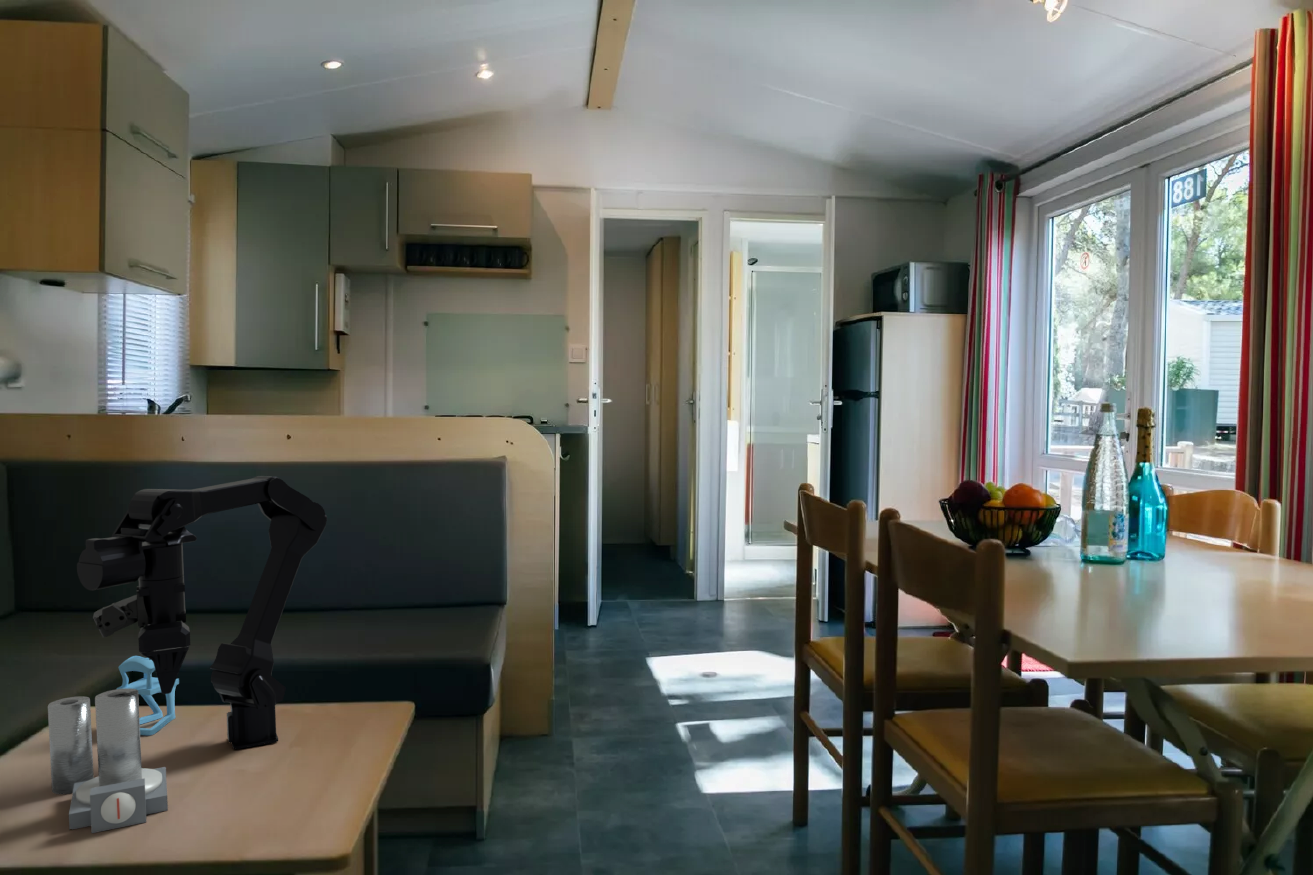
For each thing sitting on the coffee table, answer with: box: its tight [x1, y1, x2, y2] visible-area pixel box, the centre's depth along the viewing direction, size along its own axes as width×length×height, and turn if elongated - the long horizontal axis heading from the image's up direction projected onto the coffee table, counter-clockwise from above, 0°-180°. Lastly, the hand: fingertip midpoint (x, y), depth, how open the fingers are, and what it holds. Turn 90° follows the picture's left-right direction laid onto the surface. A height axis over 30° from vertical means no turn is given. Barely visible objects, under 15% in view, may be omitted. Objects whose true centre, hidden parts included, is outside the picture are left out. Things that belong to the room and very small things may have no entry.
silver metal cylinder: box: [94, 688, 143, 787], centre depth 126 cm, size 5×5×12 cm
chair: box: [116, 655, 180, 737], centre depth 156 cm, size 8×8×12 cm
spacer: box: [47, 696, 95, 795], centre depth 132 cm, size 5×5×12 cm
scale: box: [68, 766, 169, 834], centre depth 125 cm, size 11×14×5 cm
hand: (165, 684), depth 135 cm, fingers open, 9 cm apart
